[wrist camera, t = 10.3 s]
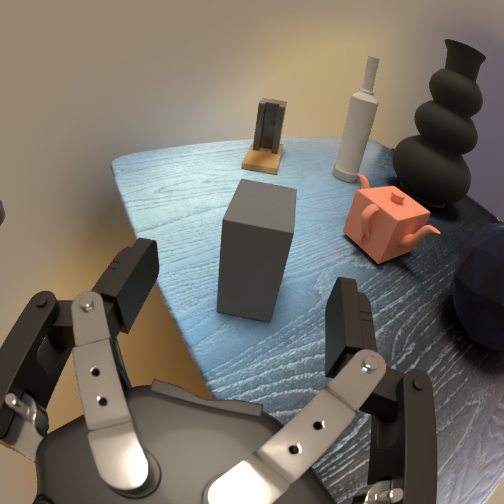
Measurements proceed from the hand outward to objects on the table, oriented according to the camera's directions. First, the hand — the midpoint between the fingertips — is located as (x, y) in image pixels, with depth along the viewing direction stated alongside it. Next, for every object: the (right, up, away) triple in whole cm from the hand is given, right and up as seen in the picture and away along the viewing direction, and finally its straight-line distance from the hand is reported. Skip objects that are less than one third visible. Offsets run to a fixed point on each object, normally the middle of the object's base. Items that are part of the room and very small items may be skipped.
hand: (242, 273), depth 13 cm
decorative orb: (+28, -8, +16) cm, 33 cm away
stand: (+3, +20, +45) cm, 49 cm away
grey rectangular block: (0, -3, +17) cm, 17 cm away
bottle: (+19, +16, +43) cm, 50 cm away
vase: (+37, +13, +43) cm, 59 cm away
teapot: (+18, +2, +26) cm, 32 cm away
